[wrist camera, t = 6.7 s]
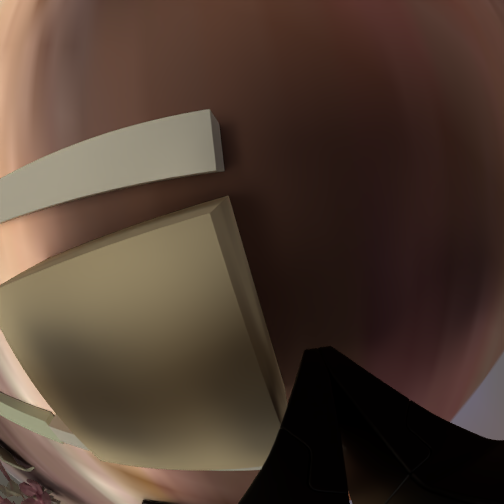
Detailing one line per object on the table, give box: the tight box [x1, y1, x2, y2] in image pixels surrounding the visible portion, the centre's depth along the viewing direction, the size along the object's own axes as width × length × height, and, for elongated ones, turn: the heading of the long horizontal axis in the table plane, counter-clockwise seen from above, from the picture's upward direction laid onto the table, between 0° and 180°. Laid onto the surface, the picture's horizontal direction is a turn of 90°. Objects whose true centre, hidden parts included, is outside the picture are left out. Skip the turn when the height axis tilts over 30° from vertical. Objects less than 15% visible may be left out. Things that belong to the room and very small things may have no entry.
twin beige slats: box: [0, 109, 262, 471], centre depth 9 cm, size 14×12×2 cm
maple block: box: [0, 196, 287, 470], centre depth 8 cm, size 8×8×4 cm
